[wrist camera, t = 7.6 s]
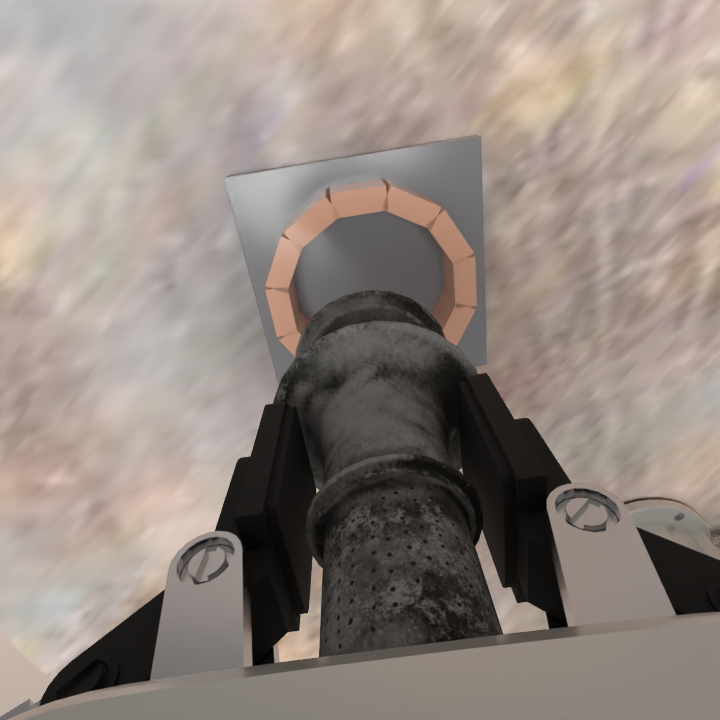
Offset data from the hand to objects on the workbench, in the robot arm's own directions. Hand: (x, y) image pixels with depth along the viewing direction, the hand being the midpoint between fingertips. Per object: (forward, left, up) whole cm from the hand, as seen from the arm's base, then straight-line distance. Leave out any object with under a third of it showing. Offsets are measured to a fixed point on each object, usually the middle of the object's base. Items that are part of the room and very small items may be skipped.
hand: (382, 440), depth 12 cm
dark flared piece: (0, 0, -5) cm, 5 cm away
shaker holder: (-1, +1, -19) cm, 19 cm away
